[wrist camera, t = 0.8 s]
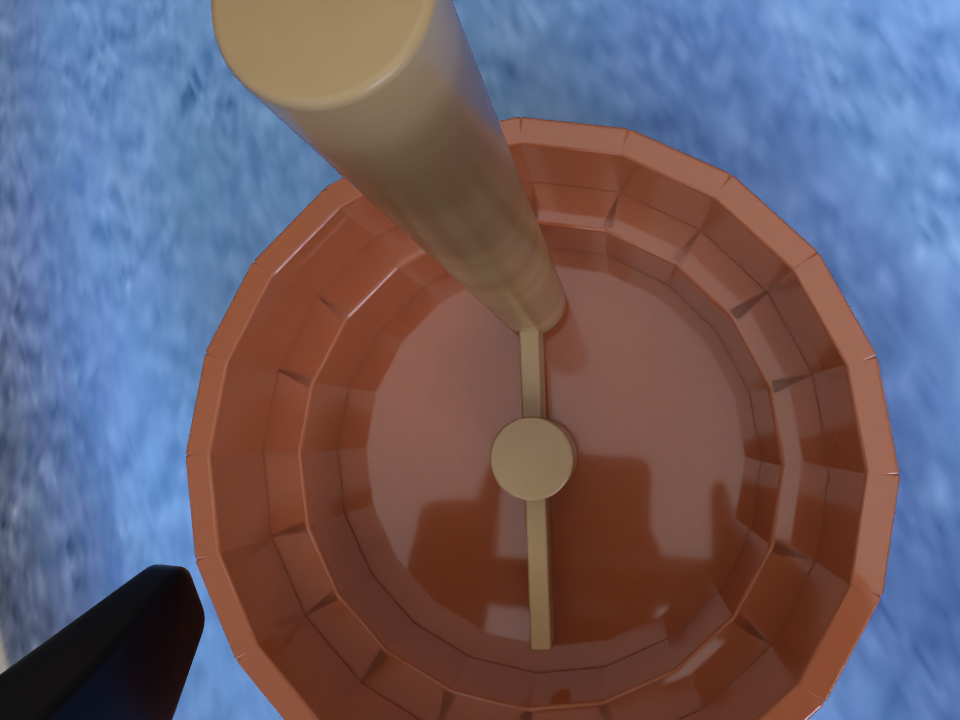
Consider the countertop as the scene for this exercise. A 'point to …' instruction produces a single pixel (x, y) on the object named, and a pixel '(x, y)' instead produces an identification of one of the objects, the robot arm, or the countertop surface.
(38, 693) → the robot arm
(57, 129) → the countertop surface
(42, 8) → the countertop surface
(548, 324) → the stirrer
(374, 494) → the bowl
